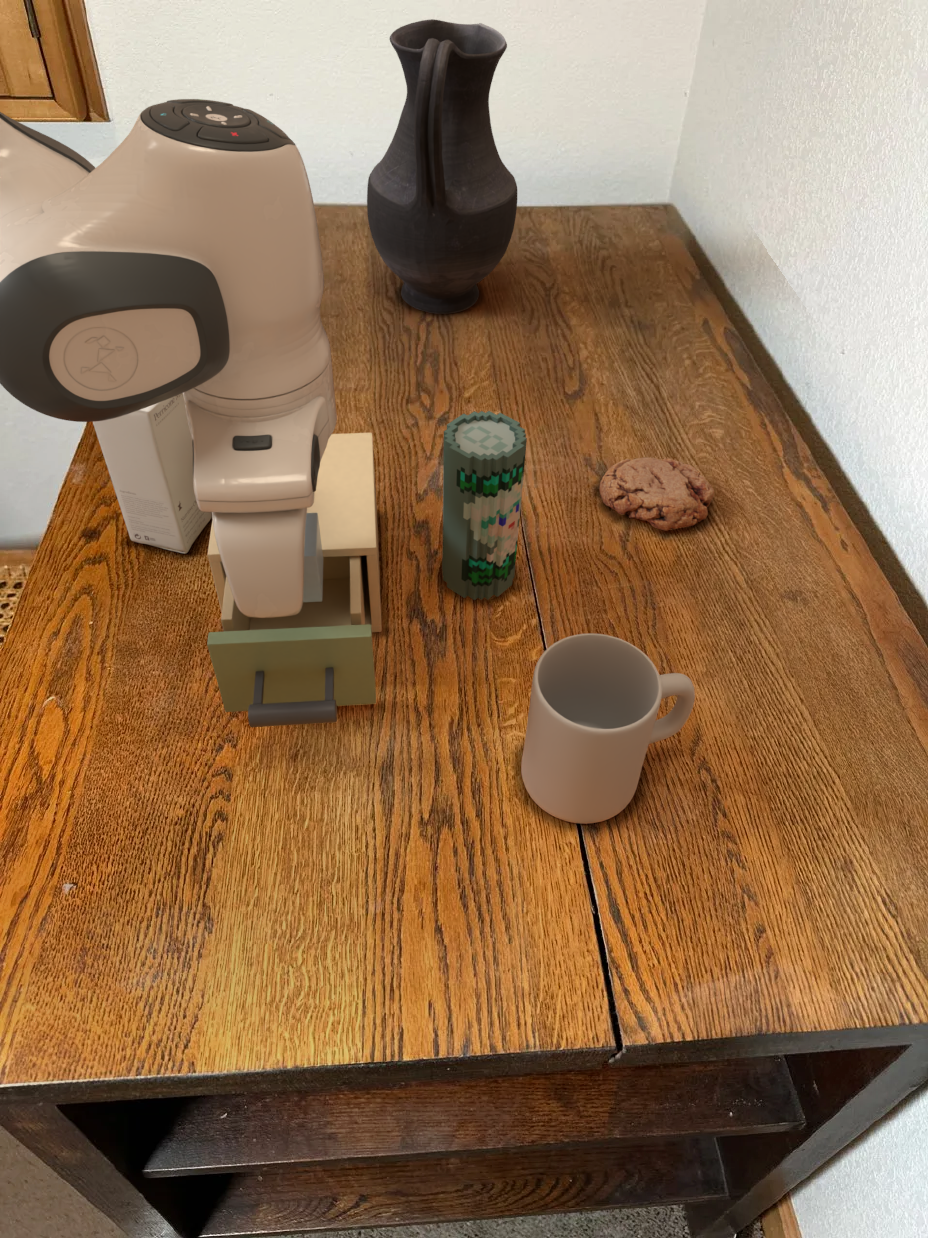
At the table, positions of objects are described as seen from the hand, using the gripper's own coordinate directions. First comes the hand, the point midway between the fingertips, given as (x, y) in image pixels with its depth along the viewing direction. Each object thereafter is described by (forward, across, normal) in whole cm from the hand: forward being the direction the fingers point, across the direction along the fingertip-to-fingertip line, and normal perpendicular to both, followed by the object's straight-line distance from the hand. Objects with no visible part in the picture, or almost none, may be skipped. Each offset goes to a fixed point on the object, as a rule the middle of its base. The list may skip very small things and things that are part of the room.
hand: (288, 565), depth 66 cm
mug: (+12, +11, +22) cm, 27 cm away
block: (+2, 0, 0) cm, 2 cm away
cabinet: (+12, -11, 0) cm, 16 cm away
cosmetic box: (+12, -19, -12) cm, 25 cm away
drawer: (+11, 0, 0) cm, 11 cm away
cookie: (+12, -19, +33) cm, 40 cm away
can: (+12, -10, +15) cm, 21 cm away
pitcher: (+12, -58, +15) cm, 61 cm away
